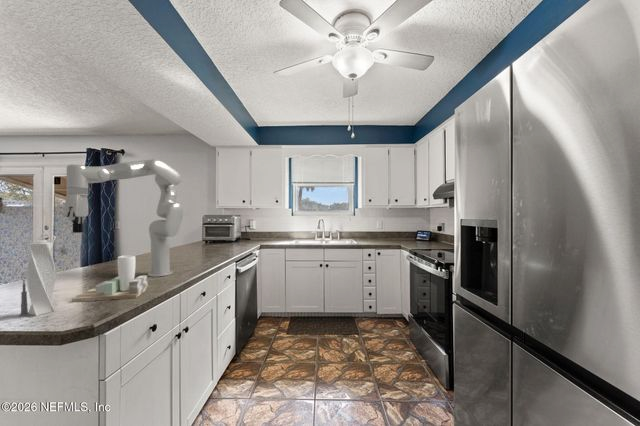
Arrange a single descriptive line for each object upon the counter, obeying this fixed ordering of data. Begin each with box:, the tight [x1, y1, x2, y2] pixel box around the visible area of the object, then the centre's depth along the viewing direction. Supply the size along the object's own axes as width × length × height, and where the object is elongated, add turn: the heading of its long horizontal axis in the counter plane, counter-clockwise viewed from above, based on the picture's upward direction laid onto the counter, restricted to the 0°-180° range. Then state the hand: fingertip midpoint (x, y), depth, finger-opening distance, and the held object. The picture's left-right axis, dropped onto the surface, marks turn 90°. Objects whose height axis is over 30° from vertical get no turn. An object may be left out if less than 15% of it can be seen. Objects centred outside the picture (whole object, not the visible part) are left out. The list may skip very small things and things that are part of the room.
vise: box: [71, 274, 149, 303], centre depth 127 cm, size 16×23×6 cm
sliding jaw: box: [95, 276, 120, 295], centre depth 126 cm, size 13×7×5 cm, turn 14°
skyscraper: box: [19, 235, 57, 319], centre depth 104 cm, size 8×8×28 cm
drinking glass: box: [116, 254, 137, 291], centre depth 129 cm, size 7×7×15 cm
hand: (77, 232), depth 131 cm, fingers closed
